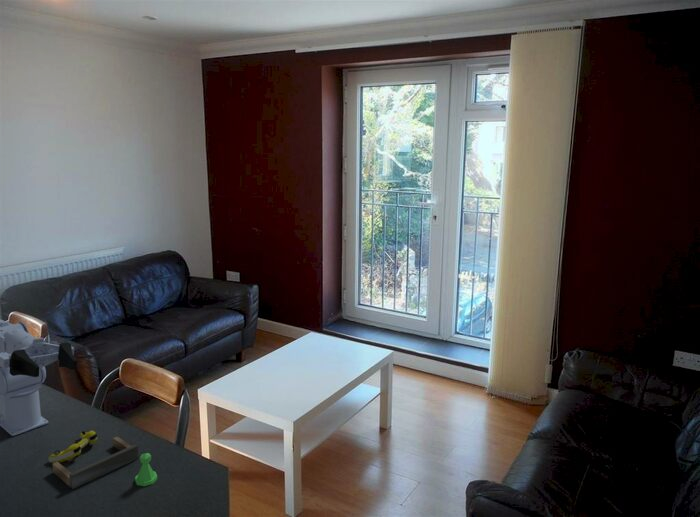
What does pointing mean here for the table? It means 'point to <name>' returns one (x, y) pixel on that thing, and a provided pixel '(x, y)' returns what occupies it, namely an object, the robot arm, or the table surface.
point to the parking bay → (98, 465)
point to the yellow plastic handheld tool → (74, 448)
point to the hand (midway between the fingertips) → (56, 368)
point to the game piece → (145, 472)
